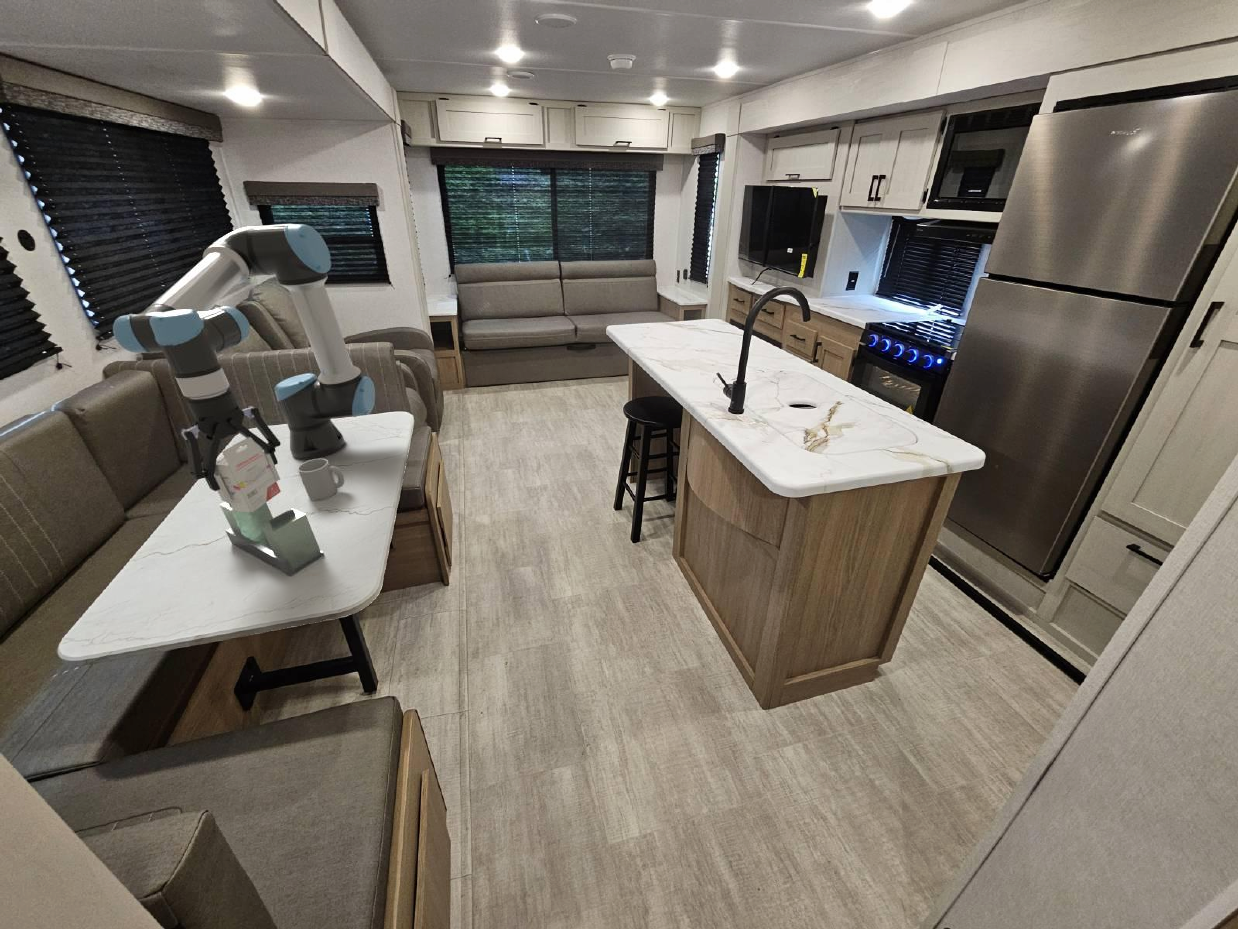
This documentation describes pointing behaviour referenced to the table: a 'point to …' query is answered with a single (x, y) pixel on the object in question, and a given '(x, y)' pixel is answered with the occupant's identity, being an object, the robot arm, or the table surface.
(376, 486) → the table surface
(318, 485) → the cup
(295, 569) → the double block cradle
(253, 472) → the ink cartridge box
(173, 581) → the table surface
